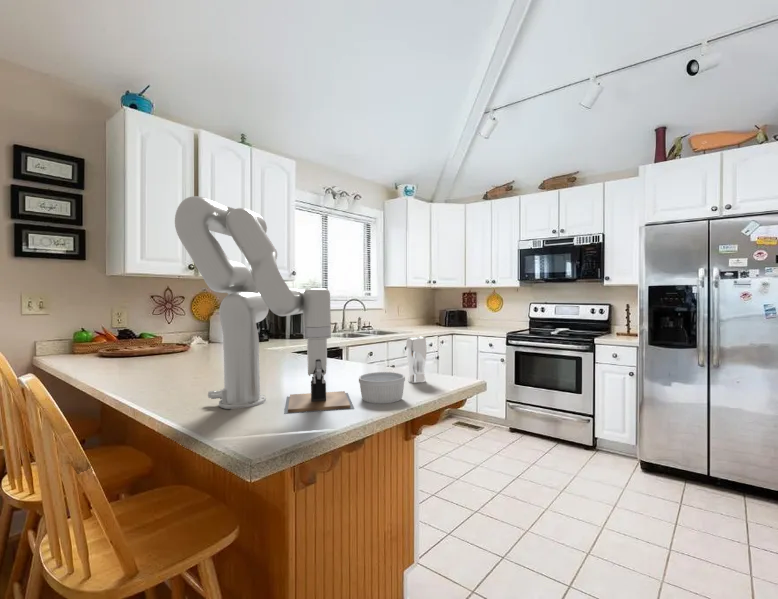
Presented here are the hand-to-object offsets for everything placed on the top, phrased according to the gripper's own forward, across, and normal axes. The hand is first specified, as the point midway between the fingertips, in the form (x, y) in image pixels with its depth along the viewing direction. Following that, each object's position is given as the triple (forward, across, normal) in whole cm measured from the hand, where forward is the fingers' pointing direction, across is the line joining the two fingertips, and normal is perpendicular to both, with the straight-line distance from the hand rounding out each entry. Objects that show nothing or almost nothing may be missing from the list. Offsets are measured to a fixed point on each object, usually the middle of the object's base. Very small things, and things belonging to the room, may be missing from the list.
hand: (318, 394), depth 117 cm
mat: (+3, 0, 0) cm, 3 cm away
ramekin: (+3, 0, +18) cm, 18 cm away
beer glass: (+3, -21, +34) cm, 40 cm away
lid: (+2, 0, 0) cm, 2 cm away
